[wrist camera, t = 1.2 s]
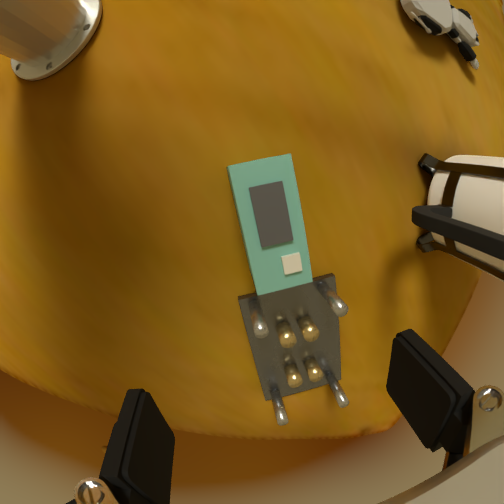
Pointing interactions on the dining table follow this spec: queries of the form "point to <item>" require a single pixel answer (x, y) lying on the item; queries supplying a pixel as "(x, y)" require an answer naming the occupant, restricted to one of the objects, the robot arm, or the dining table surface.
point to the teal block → (271, 222)
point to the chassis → (296, 339)
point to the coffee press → (465, 210)
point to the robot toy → (445, 23)
